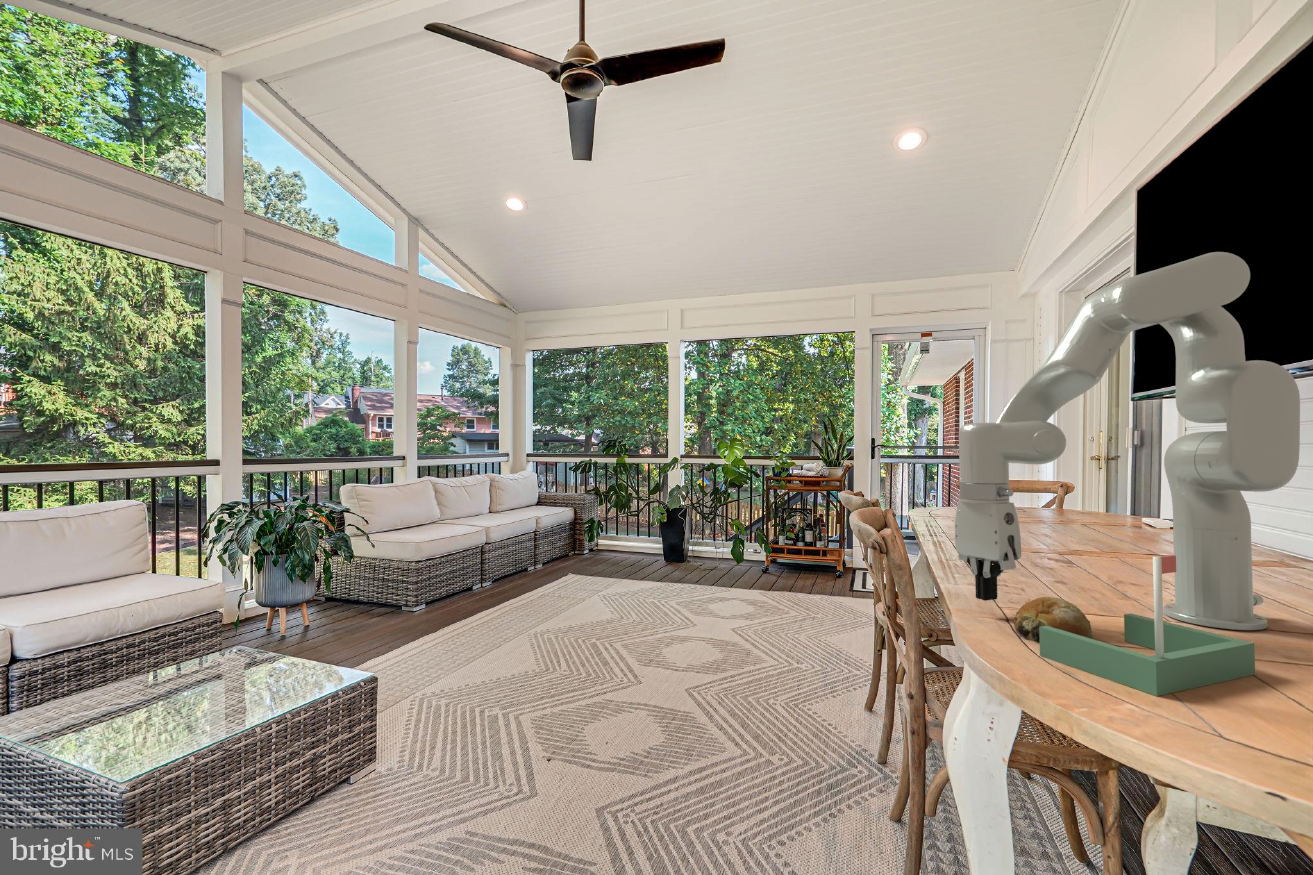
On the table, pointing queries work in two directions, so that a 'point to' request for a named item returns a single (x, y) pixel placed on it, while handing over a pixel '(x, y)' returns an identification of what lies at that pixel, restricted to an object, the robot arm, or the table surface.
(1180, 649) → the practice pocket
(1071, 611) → the bread roll
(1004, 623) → the table surface
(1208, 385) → the robot arm
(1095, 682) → the table surface
